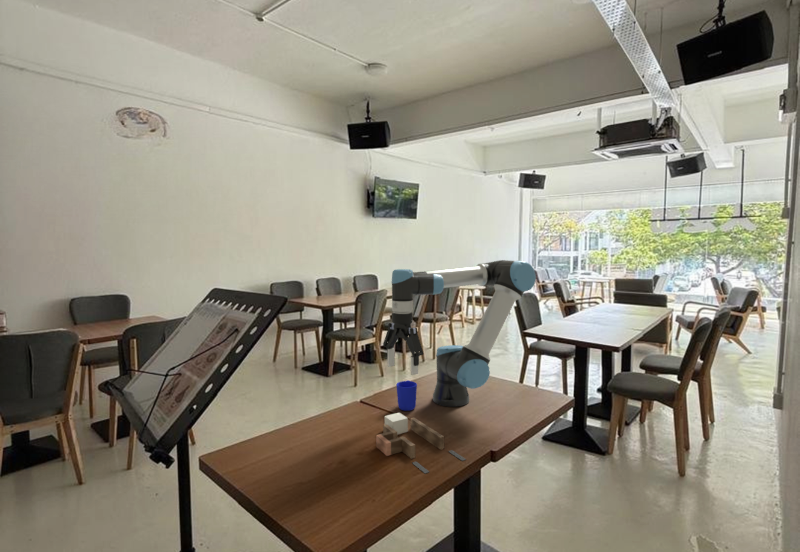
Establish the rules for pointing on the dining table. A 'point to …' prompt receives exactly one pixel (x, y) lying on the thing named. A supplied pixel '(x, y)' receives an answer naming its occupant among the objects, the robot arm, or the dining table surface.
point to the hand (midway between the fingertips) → (402, 370)
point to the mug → (406, 395)
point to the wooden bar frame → (395, 445)
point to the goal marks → (428, 471)
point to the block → (397, 422)
